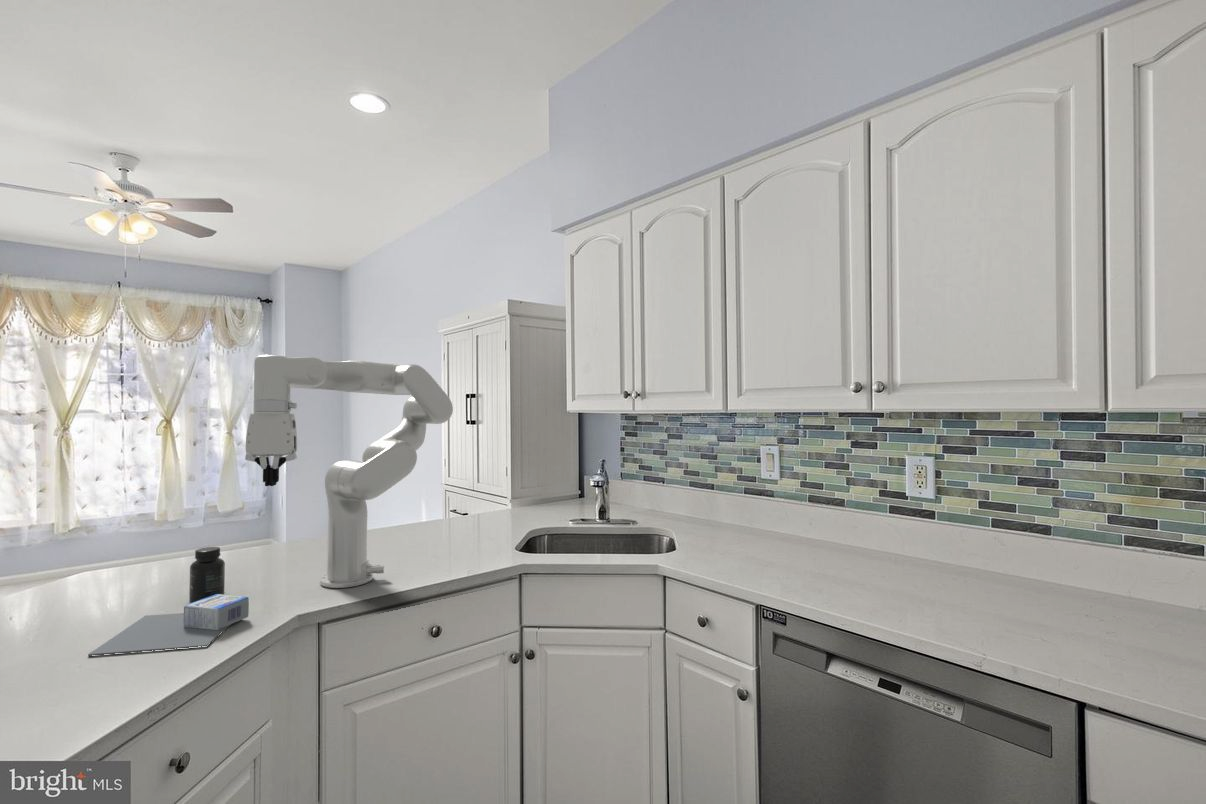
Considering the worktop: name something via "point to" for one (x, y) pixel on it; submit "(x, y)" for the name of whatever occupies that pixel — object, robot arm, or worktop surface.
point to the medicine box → (216, 611)
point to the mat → (157, 636)
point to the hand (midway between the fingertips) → (270, 485)
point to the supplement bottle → (206, 574)
